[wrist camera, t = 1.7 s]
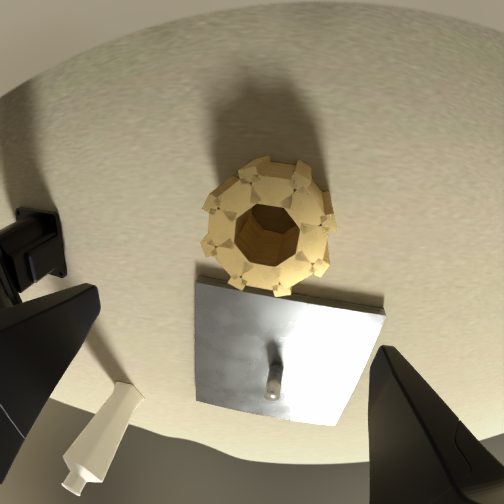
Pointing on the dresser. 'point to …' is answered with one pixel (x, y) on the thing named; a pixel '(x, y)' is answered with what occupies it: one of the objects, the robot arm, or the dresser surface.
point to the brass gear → (267, 242)
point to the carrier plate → (279, 351)
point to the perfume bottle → (100, 438)
